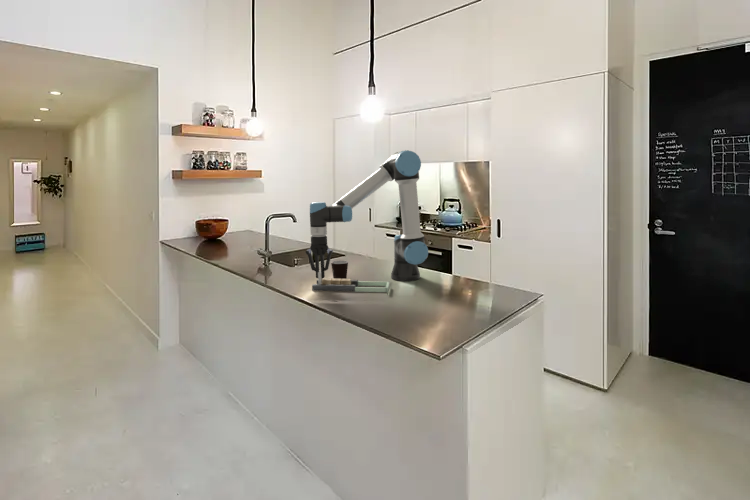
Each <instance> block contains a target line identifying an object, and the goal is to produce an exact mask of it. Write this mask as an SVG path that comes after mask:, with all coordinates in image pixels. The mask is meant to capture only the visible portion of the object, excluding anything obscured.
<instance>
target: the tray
mask: <svg viewBox="0 0 750 500" xmlns="http://www.w3.org/2000/svg"><path fill="white" fill-rule="evenodd" d="M365 286H366V287H365ZM374 286H375V287H374ZM389 291H390V281H366V280H364V281H363V280H358V287H355V291H354V292H356V293H357V292H358V293H359V292H365V293H369V292H370V293H386V295H388V294H389Z"/></svg>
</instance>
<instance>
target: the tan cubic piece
mask: <svg viewBox="0 0 750 500" xmlns="http://www.w3.org/2000/svg"><path fill="white" fill-rule="evenodd" d="M332 279H333V277H332V278H331V277H330V278H327V277H324V278H323V280H322V284H332Z"/></svg>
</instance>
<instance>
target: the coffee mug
mask: <svg viewBox="0 0 750 500" xmlns="http://www.w3.org/2000/svg"><path fill="white" fill-rule="evenodd" d="M330 265H331V270H332V271H331V272H332V279H333V278H339V279H348V278H347V277H348V269H349V268H348V267H349V261H347V260H333V261H330Z"/></svg>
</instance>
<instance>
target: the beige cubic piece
mask: <svg viewBox="0 0 750 500" xmlns="http://www.w3.org/2000/svg"><path fill="white" fill-rule="evenodd" d="M351 280H352V279H351V278H347V279H342V280H341V285H351Z"/></svg>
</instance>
